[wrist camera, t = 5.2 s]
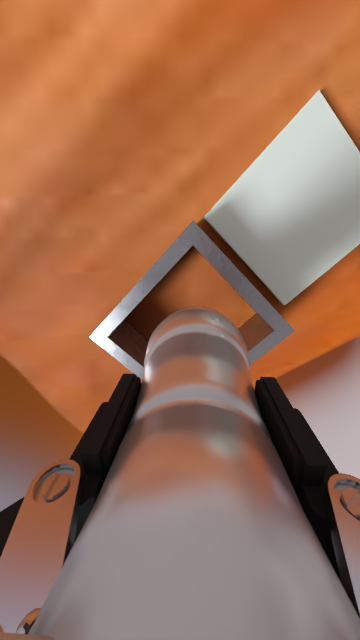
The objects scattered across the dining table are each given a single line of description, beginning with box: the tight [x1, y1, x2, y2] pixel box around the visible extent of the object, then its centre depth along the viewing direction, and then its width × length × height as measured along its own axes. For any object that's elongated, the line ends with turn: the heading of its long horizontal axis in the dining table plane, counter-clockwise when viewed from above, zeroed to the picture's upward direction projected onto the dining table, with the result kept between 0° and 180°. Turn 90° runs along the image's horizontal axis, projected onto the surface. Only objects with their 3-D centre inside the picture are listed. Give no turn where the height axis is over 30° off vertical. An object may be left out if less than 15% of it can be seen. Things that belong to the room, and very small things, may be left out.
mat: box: [204, 90, 360, 305], centre depth 19 cm, size 12×12×1 cm
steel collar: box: [89, 221, 295, 380], centre depth 21 cm, size 13×12×5 cm
